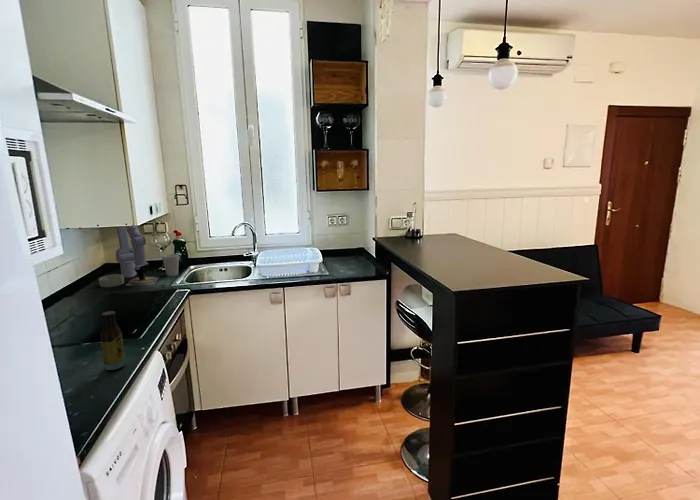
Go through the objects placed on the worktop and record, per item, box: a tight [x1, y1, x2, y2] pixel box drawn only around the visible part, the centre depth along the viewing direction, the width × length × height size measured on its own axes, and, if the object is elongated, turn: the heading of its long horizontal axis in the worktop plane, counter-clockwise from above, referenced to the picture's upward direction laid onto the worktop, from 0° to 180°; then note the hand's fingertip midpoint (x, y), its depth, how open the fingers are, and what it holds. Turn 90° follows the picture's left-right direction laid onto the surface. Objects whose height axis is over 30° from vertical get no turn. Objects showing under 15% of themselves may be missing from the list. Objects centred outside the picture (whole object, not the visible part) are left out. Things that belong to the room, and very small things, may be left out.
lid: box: [128, 274, 156, 286], centre depth 230 cm, size 14×14×4 cm
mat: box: [124, 276, 160, 287], centre depth 230 cm, size 15×15×1 cm
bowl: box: [98, 274, 125, 288], centre depth 225 cm, size 12×12×4 cm
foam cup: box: [161, 253, 180, 277], centre depth 243 cm, size 10×9×13 cm
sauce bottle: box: [99, 310, 126, 365], centre depth 130 cm, size 6×6×20 cm
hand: (142, 278), depth 230 cm, fingers closed on lid, 3 cm apart
